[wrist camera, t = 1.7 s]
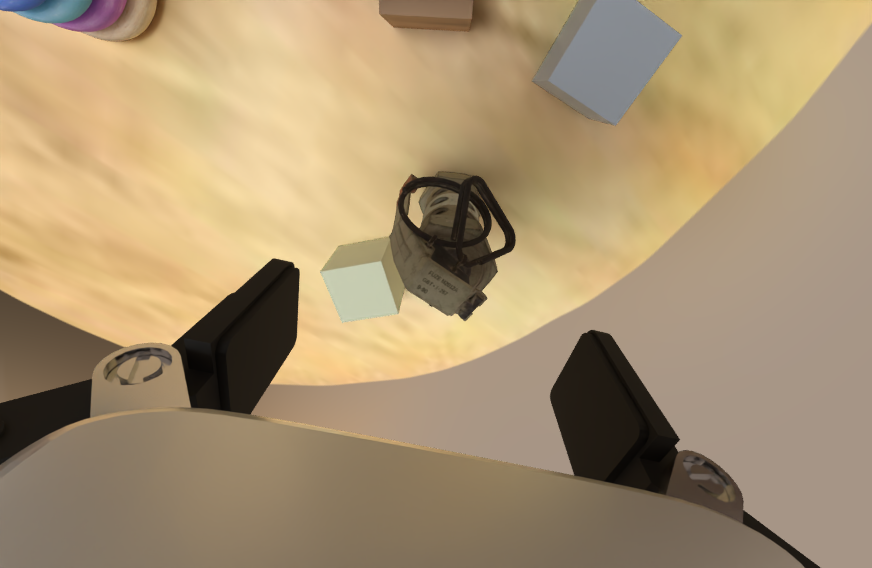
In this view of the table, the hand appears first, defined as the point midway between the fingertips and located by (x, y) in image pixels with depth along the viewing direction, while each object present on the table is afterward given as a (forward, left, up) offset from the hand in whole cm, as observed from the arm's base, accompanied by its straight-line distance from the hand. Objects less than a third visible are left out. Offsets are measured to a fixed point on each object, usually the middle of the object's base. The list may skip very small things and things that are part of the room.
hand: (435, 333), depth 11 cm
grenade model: (0, 0, -19) cm, 19 cm away
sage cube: (+9, -5, -19) cm, 22 cm away
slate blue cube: (-10, +7, -19) cm, 23 cm away
